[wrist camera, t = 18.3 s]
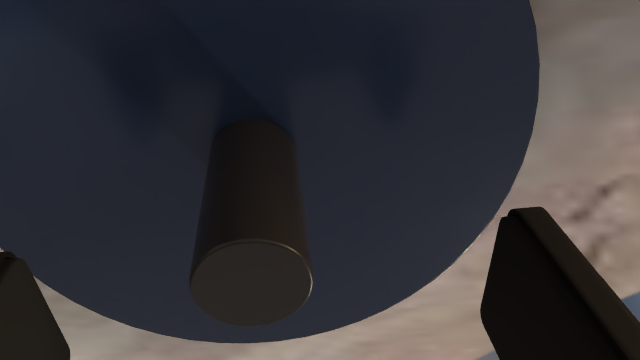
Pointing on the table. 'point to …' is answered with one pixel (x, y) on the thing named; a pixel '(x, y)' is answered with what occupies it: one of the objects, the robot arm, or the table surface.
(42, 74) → the lid
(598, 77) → the table surface
